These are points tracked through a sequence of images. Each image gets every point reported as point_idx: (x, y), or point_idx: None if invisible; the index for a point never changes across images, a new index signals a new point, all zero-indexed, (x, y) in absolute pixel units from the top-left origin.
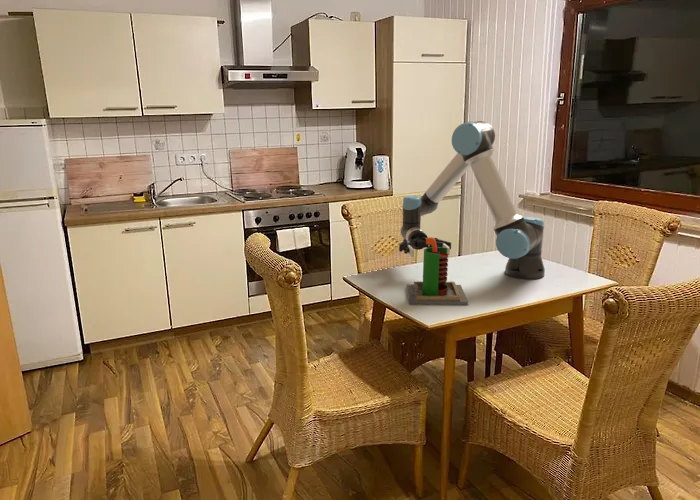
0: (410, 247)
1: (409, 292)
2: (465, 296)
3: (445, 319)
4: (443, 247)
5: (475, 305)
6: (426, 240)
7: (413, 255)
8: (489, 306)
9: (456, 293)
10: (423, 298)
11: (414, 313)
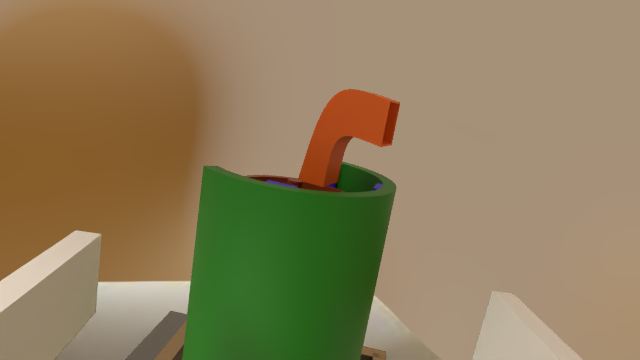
0: (561, 346)
1: None
2: (137, 348)
3: None
4: (226, 175)
5: (142, 316)
6: (395, 114)
7: (476, 349)
8: (98, 299)
9: None
10: None
11: (387, 324)
